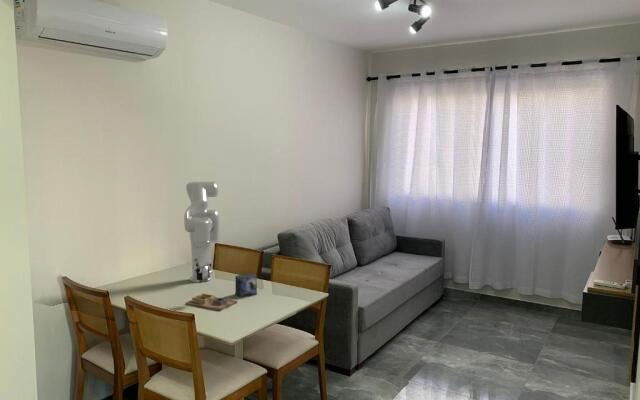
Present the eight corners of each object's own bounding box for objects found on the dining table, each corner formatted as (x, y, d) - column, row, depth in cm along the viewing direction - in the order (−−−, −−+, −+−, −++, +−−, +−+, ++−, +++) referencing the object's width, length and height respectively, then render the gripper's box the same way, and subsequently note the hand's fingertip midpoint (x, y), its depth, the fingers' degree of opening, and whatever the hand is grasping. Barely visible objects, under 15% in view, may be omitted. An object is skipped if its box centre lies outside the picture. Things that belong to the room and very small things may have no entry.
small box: (238, 297, 260) (238, 278, 259) (235, 294, 265) (234, 275, 264) (257, 294, 265) (257, 276, 263) (253, 291, 270) (253, 273, 269)
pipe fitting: (202, 279, 253) (202, 264, 252) (210, 280, 251) (210, 265, 250) (196, 281, 249) (195, 266, 248) (204, 282, 247) (203, 267, 246)
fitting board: (203, 296, 260) (203, 291, 260) (237, 302, 251) (236, 297, 250) (185, 304, 248) (185, 298, 248) (220, 311, 238) (220, 305, 238)
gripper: (207, 240, 257) (208, 274, 259) (185, 246, 242) (186, 282, 244) (218, 241, 254) (219, 275, 256) (197, 247, 239) (197, 283, 241)
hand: (203, 278), depth 250 cm, fingers closed on pipe fitting, 5 cm apart
